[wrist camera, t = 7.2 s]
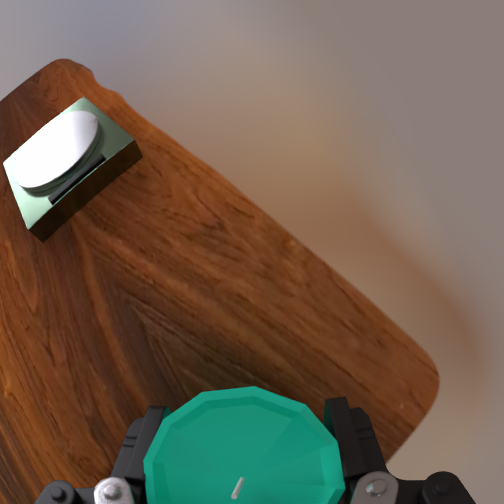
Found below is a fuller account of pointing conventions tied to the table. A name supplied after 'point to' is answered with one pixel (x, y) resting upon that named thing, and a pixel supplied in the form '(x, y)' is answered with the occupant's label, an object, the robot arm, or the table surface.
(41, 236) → the scale
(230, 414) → the candle
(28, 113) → the table surface
